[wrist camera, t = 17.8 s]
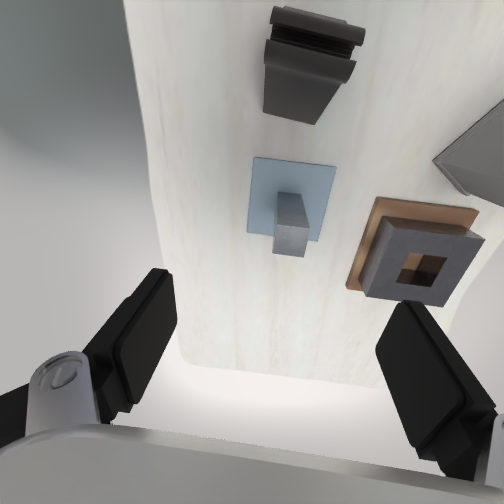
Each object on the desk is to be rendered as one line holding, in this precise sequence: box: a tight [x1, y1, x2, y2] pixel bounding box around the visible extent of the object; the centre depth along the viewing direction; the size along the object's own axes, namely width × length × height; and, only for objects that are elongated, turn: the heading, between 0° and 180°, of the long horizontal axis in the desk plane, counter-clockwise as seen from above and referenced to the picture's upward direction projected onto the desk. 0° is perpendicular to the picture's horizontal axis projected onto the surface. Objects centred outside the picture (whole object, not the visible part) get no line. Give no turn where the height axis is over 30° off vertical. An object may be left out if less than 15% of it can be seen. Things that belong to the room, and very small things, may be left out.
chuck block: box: [358, 216, 486, 307], centre depth 32 cm, size 10×10×4 cm
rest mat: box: [247, 157, 336, 242], centre depth 32 cm, size 10×10×1 cm
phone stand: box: [263, 6, 365, 125], centre depth 21 cm, size 9×6×12 cm, turn 168°
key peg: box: [272, 191, 310, 257], centre depth 28 cm, size 3×3×11 cm
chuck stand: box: [346, 197, 479, 291], centre depth 34 cm, size 14×12×1 cm
